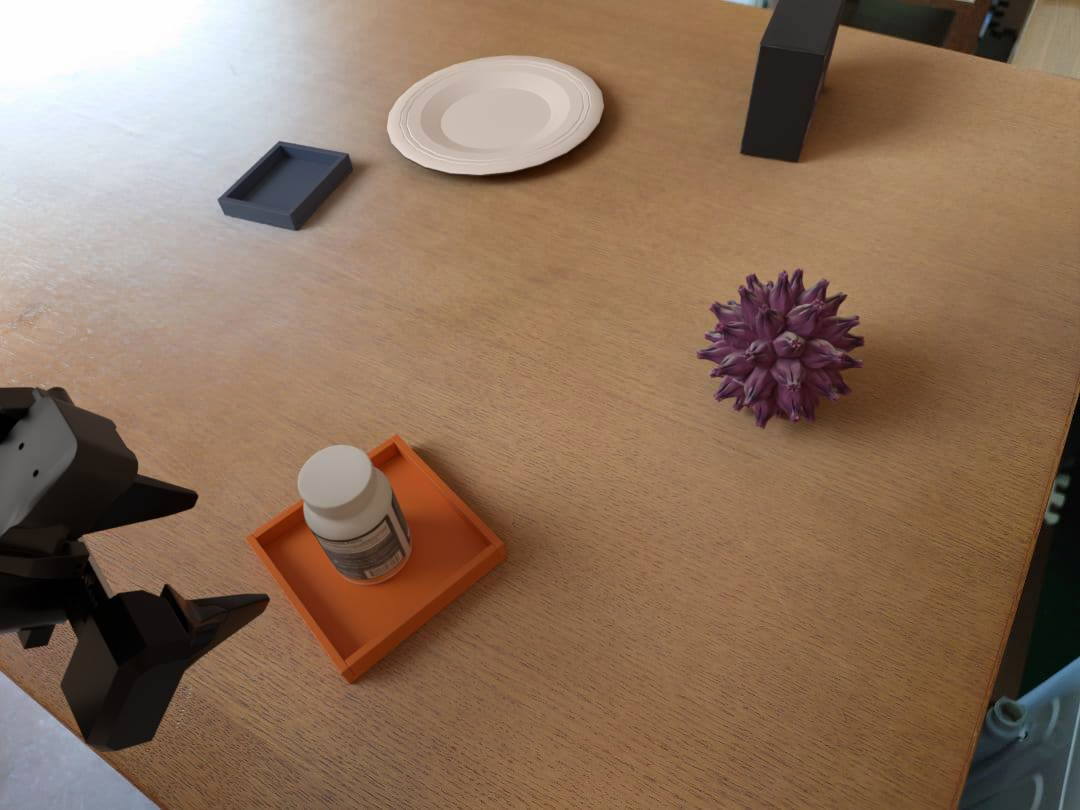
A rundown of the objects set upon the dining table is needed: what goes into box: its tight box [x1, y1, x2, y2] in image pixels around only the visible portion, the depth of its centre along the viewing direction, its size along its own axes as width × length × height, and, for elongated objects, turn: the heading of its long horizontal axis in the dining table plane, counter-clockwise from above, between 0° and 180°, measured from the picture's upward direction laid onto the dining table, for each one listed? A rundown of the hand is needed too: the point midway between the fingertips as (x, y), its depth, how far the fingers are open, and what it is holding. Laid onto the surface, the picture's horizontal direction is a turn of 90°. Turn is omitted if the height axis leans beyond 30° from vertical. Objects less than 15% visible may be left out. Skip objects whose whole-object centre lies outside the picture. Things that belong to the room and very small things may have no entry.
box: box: [739, 0, 846, 163], centre depth 81 cm, size 17×7×12 cm, turn 158°
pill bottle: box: [297, 444, 412, 585], centre depth 51 cm, size 6×6×10 cm
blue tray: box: [217, 140, 354, 232], centre depth 84 cm, size 11×9×2 cm
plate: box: [386, 54, 605, 177], centre depth 89 cm, size 25×25×2 cm
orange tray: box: [244, 433, 508, 685], centre depth 55 cm, size 13×13×2 cm
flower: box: [696, 268, 866, 430], centre depth 57 cm, size 12×12×12 cm
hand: (229, 548), depth 45 cm, fingers open, 9 cm apart
